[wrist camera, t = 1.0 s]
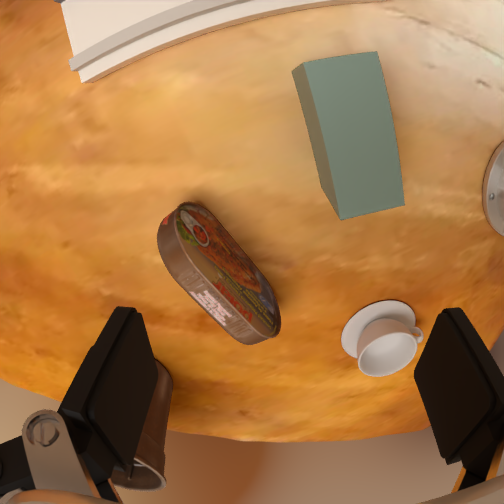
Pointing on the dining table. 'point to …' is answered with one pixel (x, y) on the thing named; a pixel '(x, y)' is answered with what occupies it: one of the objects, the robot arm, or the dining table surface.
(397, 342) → the teacup
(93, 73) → the white railed tray
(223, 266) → the tin
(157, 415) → the plant pot
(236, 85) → the dining table surface
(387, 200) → the tea box
